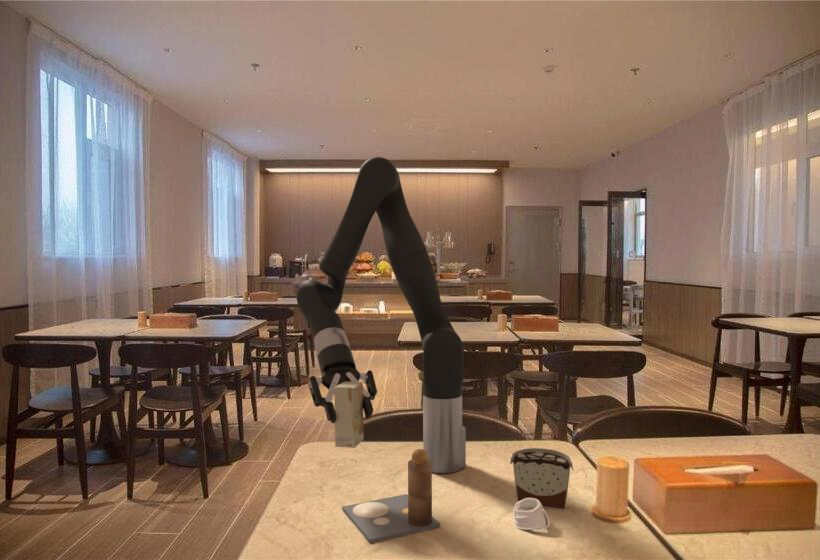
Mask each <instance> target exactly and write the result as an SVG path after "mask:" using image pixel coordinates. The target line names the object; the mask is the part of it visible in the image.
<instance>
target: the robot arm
mask: <svg viewBox="0 0 820 560" xmlns="http://www.w3.org/2000/svg"><path fill="white" fill-rule="evenodd" d="M357 174H358V175H357V178H356V179H355V180H356V181H355V183H354V188H353V190H352V193H351V196H350V199H349V201H348V204H347V206H346V209H345V211H344V214H343V215H342V218H341V220H340V222H339V224H338V226H337V228H336V230H335V232H334V234H333V236H332V238H331V239H330V241H329V244H328V246H327V247H326V249H325V251H324V253H323V255H322V256H321V259H320V261H319V264H318V268H319V271H320V272H322V273H324V274H325V275H326V276H327V283H323V282H320V281H319V280H318V281H317V280H315V279H306V280H304V281H302V282H301V283H300V285H299V286H298V288H297V290H296V296H295V297H296V303H297V306H298V309H299V310H300V312H301V314H302V316H303V317H304V319H305V321H306V322H307V324H308V326H309V327H310V329H311V334H312V337H313V342H314V350H315V356H316V358H317V362H318V366H319V370H320V374H321V377H316V376H315V375H311V376H310V377H309V380H308V383H307V384H308V388H309V391H310V395H311V399H312V401H313V405H314V407H323V408H324V412H325V415H326V419H327V421H328V422H330V423H331V424H335V422H336V413H335V404H334V402H333V398H334V387H336V386H338V385H339V384H341V383H343V382H360V380H361V382H363V385H364V384H365V386H366V389H365V387H364V386H363V414H364V415H365V419H366V420H367V419H371V417H372V415H373V413H374V407H373V404H372V401H373V400H375V398H376V396H377V394H378V388H377V386H376V382H375V377H374V374H373V373H374V372H373V371H372V370H367V371H366V372H362V373H360V371H358V369H357V366H356V363H355V359H354V356H353V353H352V349H351V346H350V343H349V339H348V337H347V334H346V333H345V330H344V327H343V323H342V321H341V320H342V319H341V317H340V316H339V314H338V313H337V312H336V311H337V310H338V309H339V308H340V305H341V303H342V300H343V294H344V288H345V285H346V280H347V276H348V273H349V272H350V269H351V268H352V265H353V263H354V262H355V260H356V258H357V255H358V253H359V251H360V249H361V246H362V244H363V241H364V238H365V235H366V233H367V229H368V227H369V225H370V223H371V220H372V219H373V217H374V215H375V213H376V214H377V217H378V219H379V223H380V226H381V230H382V235H383V241H384V245H385V246H384V247H385V249H386V253H387V259H388V260H389V264H390V266H391V269H392V271H393V275H394V277H395V279H396V283H397V284H398V287H399V289H400V291H401V292H402V295H403V296H404V298H405V300H406V302H407V304H408V306H409V308H410V309H411V311H412V313H413V315H414V319H415V322H416V325H417V329H418V333H419V336H420V341H421V347H422V353H423V354H422V355H423V356H422V357H423V358H422V359H423V363H422V364H423V366H422V367H423V369H422V370H423V379H422V419H423V420H422V422H423V423H422V427H423V428H422V430H423V431H422V436H423V437H422V442H423V445H422V446H423V448H422V449H423V450H424V451H426V453H427V455H428V460H430V461H431V462H432V473H436V474H450V473H452V474H453V473H456V472H459V471H460V470H461V469H464V468H466V467H467V450H466V444H467V443H466V439H467V437H466V436H467V433H466V430H467V429H466V427H465V426H464V425H463V386H464V385H463V384H464V344H463V341H462V338H461V337H460V336H459V334H458V333H457V331H455V328H454V327H453V325H452V323H451V322H450V319H449V317H448V315H447V313H446V309H445V308H444V306H443V303H442V299H441V296H440V291H439V285H438V281H437V276H436V273H435V269H434V266H433V264H432V263H433V262H432V260H431V257H430V255H429V252H428V250H427V247H426V245H425V243H424V240H423V238H422V236H421V234H420V231H419V230H418V228H417V226H416V224H415V222H414V219H413V218H412V215H411V214H410V212H409V209H408V206H407V202H406V199H405V196H404V195H405V194H404V191H403V187H402V183H401V177H400V175H399V171H398V170H397V168H396V166H395V165H394V164H393V163H392V162H391V161H390V160H388V159H387V158H385V157H381V156H374V157H371V158H369V159H366V161H364V162H363V164H362V165H361V166H360V168H359V170H358V173H357ZM321 385H322V386H324V387H325V388H326V389H327V390H328V391H327V394H326V396H325V397H323V396H322V393H321V390H320V386H321Z"/></svg>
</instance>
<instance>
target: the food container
mask: <svg viewBox="0 0 820 560" xmlns="http://www.w3.org/2000/svg"><path fill="white" fill-rule="evenodd" d="M509 464H510V465H512V466H513V476H514V484H515V495H516V496H515V497H516V503H517V502H519V501H521V500H523V499H525V498H535V499H538V500H539V501H540V502H541V504H542V506H543V509H550V510H551V509H552V510H559V511H566V510H567V500H568V491H569V490H568V489H569V483H570V482H569V481H570V473H571V469H572V472H574V468H573V467H574V466H573V462H572V460H571V457H570V456H569V455H567V454H566V453H563V452H561V451H558V450H555V449H550V448H540V447H539V448H537V447H534V448H532V447H531V448H524V449H519V450H516V451H514V452H513V453H512V456H511V457H510V461H509Z"/></svg>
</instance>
